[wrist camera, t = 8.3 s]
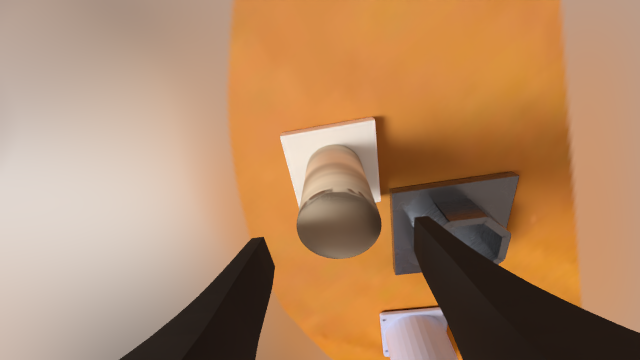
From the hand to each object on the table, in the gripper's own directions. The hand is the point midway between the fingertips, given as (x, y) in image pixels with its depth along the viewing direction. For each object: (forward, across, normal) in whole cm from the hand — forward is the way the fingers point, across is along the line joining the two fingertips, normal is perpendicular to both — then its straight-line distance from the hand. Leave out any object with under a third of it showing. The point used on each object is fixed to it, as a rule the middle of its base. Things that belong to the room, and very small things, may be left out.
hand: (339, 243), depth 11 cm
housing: (+9, -10, +8) cm, 15 cm away
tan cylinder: (+8, 0, 0) cm, 8 cm away
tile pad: (+9, 0, 0) cm, 9 cm away
